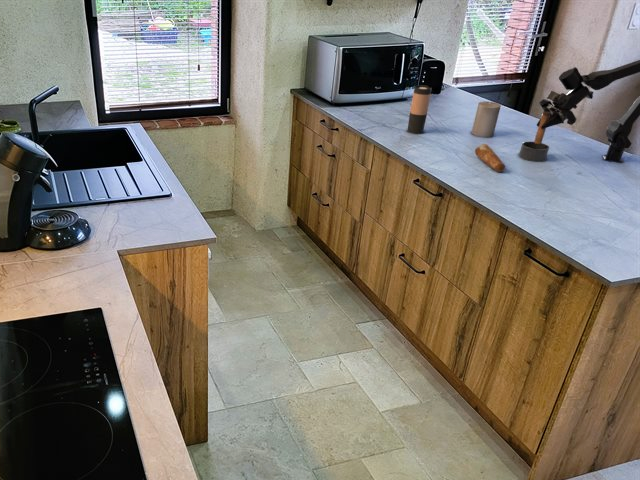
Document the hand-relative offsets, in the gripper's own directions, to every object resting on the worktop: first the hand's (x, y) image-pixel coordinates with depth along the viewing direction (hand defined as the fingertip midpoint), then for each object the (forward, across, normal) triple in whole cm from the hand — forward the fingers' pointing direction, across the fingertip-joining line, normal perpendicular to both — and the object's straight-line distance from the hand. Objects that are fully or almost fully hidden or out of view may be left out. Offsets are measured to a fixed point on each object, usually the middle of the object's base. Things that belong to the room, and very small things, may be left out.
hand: (539, 126), depth 240 cm
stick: (+4, 0, +6) cm, 7 cm away
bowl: (+8, -1, +10) cm, 13 cm away
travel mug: (+34, -39, -15) cm, 54 cm away
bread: (+24, +6, -5) cm, 25 cm away
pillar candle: (+13, -32, +6) cm, 35 cm away
